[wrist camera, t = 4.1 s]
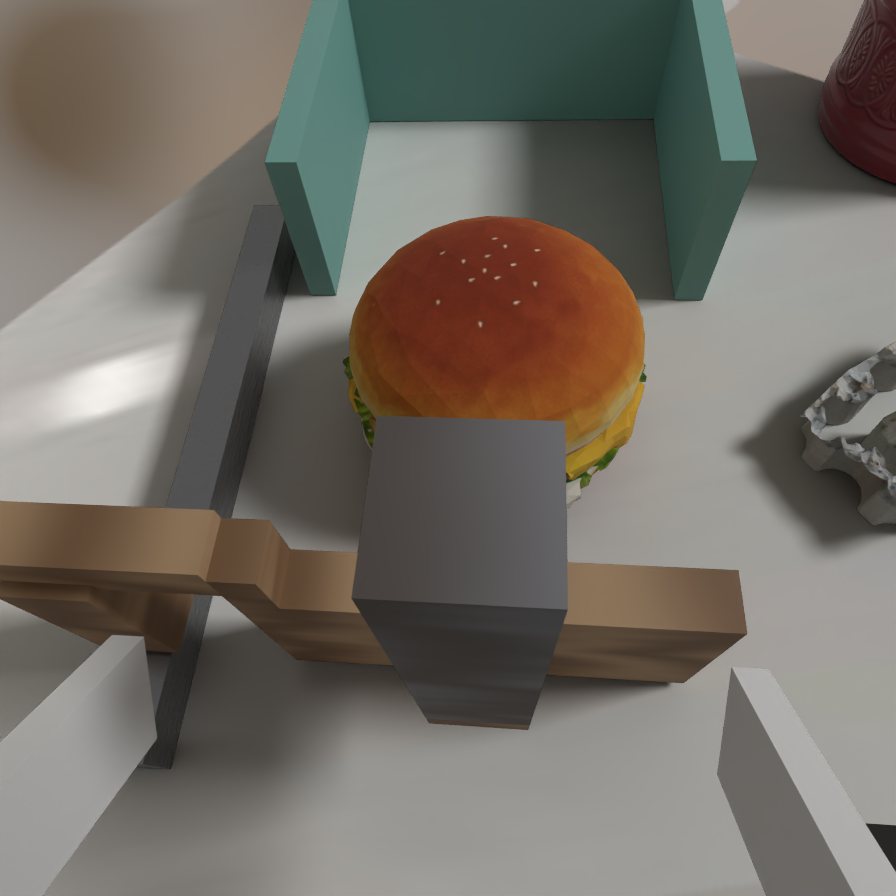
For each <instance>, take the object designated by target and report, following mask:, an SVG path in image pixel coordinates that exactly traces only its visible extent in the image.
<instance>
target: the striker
mask: <svg viewBox="0 0 896 896" xmlns="http://www.w3.org/2000/svg"><path fill="white" fill-rule="evenodd" d="M194 595H213V596H223V597H224V598H225V599H226V600H227V601H229V602H230V603H231V604H232V605H233V606H234V607H236V608H237V609H238V610H239V611H240V612H241V613H243V614H244V615H245V616H246V617H247V618H248V619H250V620H251V621H252V622H253V623H254V624H256V625H257V626H258V627H259V628H260V629H261V630H263V631H264V632H265V633H266V634H267V635H268V636H270V637H271V638H272V639H273V640H274V641H275V642H277V643H278V644H279V645H280V646H281V647H283V648H284V649H285V650H286V651H287V652H288V653H290V654H291V655H292V656H293V657H294V658H295V659H297V660H311V661H328V662H344V663H361V664H377V665H393V666H394V668H395V669H396V671H397V672H398V674H399V676H400V677H401V679H402V680H403V682H404V684H405V685H406V687H407V688H408V690H409V692H410V693H411V695H412V696H413V698H414V700H415V701H416V703H417V704H418V706H419V708H420V709H421V711H422V712H423V714H424V716H425V717H426V719H427V720H428V722H429V723H433V724H448V725H463V726H478V727H493V728H507V729H522V730H528V728H529V725H530V722H531V719H532V716H533V713H534V710H535V707H536V704H537V701H538V698H539V695H540V692H541V689H542V686H543V683H544V680H545V677H546V675H559V676H576V677H592V678H609V679H625V680H642V681H658V682H675V683H684V682H686V681H687V680H688V679H690V678H691V677H692V676H693V675H695V674H696V673H697V672H699V671H700V670H701V669H702V668H704V667H705V666H706V665H708V664H709V663H710V662H712V661H713V660H714V659H715V658H717V657H718V656H719V655H721V654H722V653H723V652H724V651H726V650H727V649H728V648H730V647H731V646H732V645H734V644H735V643H736V642H737V641H739V640H740V639H741V638H743V637H744V636H745V635H746V634H747V628H746V621H745V614H744V607H743V599H742V592H741V585H740V578H739V571H738V570H722V569H700V568H679V567H657V566H635V565H614V564H592V563H571V562H567V506H566V436H565V421H541V420H506V419H471V418H436V417H402V416H377V419H376V426H375V433H374V441H373V448H372V455H371V462H370V469H369V476H368V483H367V490H366V497H365V504H364V511H363V519H362V526H361V533H360V540H359V547H358V553H355V552H333V551H312V550H291V549H290V548H289V547H288V545H287V544H286V543H285V541H284V540H283V538H282V537H281V536H280V534H279V533H278V532H277V530H276V529H275V528H274V526H273V525H272V523H271V522H270V521H269V520H255V519H231V518H221V517H220V516H219V515H218V514H217V513H216V512H215V511H214V510H201V509H177V508H153V507H129V506H105V505H81V504H57V503H33V502H9V501H0V599H1V600H3V601H5V602H7V603H10V604H12V605H14V606H16V607H18V608H20V609H23V610H25V611H27V612H29V613H31V614H33V615H35V616H38V617H40V618H42V619H44V620H46V621H48V622H51V623H53V624H55V625H57V626H59V627H61V628H64V629H66V630H68V631H70V632H72V633H74V634H76V635H79V636H81V637H83V638H85V639H87V640H89V641H92V642H94V643H96V644H98V645H100V646H101V645H102V644H103V643H104V642H105V641H106V640H107V639H108V638H109V637H110V636H112V635H122V636H142V637H144V641H145V649H146V651H156V652H172V653H179V652H180V648H181V644H182V640H183V636H184V632H185V628H186V624H187V620H188V616H189V613H190V609H191V605H192V601H193V597H194Z"/></svg>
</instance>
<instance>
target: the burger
mask: <svg viewBox="0 0 896 896" xmlns="http://www.w3.org/2000/svg"><path fill="white" fill-rule="evenodd" d="M644 352H645V334H644V326H643V318H642V315H641V313H640V310H639V307H638V304H637V302H636V299H635V296H634V293H633V292H632V290H631V289H630V287H629V286H628V284H627V282H626V281H625V279H624V278H623V276H622V275H621V273H620V272H619V270H617V269H616V268H615V267H614V266H613V265H612V264H611V263H610V262H609V261H608V260H607V259H606V258H605V257H604V256H603V255H602V254H601V253H600V252H599V251H598V250H597V249H596V248H594V247H593V246H592V245H591V244H589V243H587V242H585V241H583V240H582V239H580V238H578V237H576V236H574V235H573V234H571V233H569V232H567V231H565V230H562V229H559V228H556V227H553V226H550V225H547V224H545V223H542V222H539V221H535V220H531V219H527V218H514V217H495V216H485V217H478V218H472V219H465V220H459V221H456V222H453V223H450V224H447V225H444V226H441V227H438V228H435V229H432V230H430V231H429V232H427V233H425V234H424V235H422V236H420V237H419V238H417V239H415V240H414V241H412V242H410V243H409V244H407V245H405V246H404V247H402V248H400V249H399V250H397V251H396V253H395V254H394V255H393V256H392V257H391V258H390V259H389V260H388V261H387V262H386V264H385V265H384V266H383V267H382V268H381V269H380V270H379V271H378V272H377V273H376V275H375V276H374V277H373V278H372V279H371V280H370V281H369V282H368V284H367V286H366V288H365V290H364V293H363V295H362V297H361V299H360V301H359V303H358V305H357V307H356V309H355V312H354V315H353V319H352V324H351V329H350V357H347V358H345V359H344V360H343V363H344V364H345V366H346V368H345V371H344V372H345V374H346V375H347V376H348V377H349V378H350V379H349V390H348V394H349V400H350V402H351V403H352V406H353V409H354V411H355V412H357V413H359V415H360V417H361V423H362V427H363V433H364V438H365V442H366V444H367V445H368V447H369V448H370V449H371V451H372V448H373V441H374V433H375V426H376V419H377V416H402V417H436V418H471V419H506V420H541V421H565V436H566V506H567V509H568V508H570V507H571V505H572V504H573V502H574V501H576V500H578V499H580V498H581V490H580V489H581V488H583V487H585V486H587V485H589V482H590V479H591V477H592V475H593V474H594V473H595V472H596V471H597V470H600V471H601V470H603V469H604V468H606V467H607V466H608V465H609V463H610V462H611V461H612V460H613V458H614V457H615V455H616V453H617V452H618V449H619V448H620V447H621V446H623V445H624V444H626V443H627V442H628V440H629V438H630V436H631V434H632V431H633V427H634V422H635V418H636V413H637V409H638V407H639V404H640V401H641V398H642V395H643V390H644V385H643V384H642V383H641V382H645V381H646V376H645V374H644V373H643V371H644V369H645V364H644Z"/></svg>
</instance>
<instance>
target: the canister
mask: <svg viewBox="0 0 896 896" xmlns="http://www.w3.org/2000/svg"><path fill="white" fill-rule="evenodd" d="M819 121H820V125H821V128H822V130H823V132H824V134H825V136H826V138H827V139H828V140H829V142H830V143H831V144H832V146H833V147H834V148H835V149H836V150H837V151H838V152H839V153H840V154H841V155H842V156H844V157H845V158H846V159H847V160H849V161H850V162H851V163H853V164H854V165H856V166H857V167H859V168H861V169H862V170H864V171H866V172H868V173H870V174H872V175H874V176H876V177H879V178H881V179H884V180H886V181H889V182H892V183H895V184H896V0H864V2H863V4H862V6H861V8H860V11H859V13H858V15H857V18H856V20H855V22H854V24H853V26H852V29H851V31H850V33H849V36H848V38H847V40H846V42H845V45H844V47H843V49H842V51H841V53H840V54H839V55H838V57H837V58H836V59H835V61H834V62H833V64H832V66H831V68H830V71H829V74H828V76H827V78H826V80H825V83H824V86H823V91H822V99H821V102H820V106H819Z"/></svg>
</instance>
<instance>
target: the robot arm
mask: <svg viewBox="0 0 896 896" xmlns="http://www.w3.org/2000/svg"><path fill="white" fill-rule="evenodd" d="M156 739H157V733H156V725H155V717H154V710H153V702H152V694H151V687H150V679H149V671H148V664H147V656H146V649H145V641H144V637H142V636H122V635H112V636H110V637H109V638H108V639H107V640H106V641H105V642H104V643H103V644H102V645H101V646H100V647H99V648H98V649H97V650H96V651H95V652H94V653H93V654H92V655H91V656H90V657H89V658H87V659H86V660H85V661H84V662H83V663H82V664H81V665H80V666H79V667H78V668H77V669H76V670H75V671H74V672H73V673H72V674H71V675H70V676H69V677H68V678H67V679H66V680H65V681H63V682H62V683H61V684H60V685H59V686H58V687H57V688H56V689H55V690H54V691H53V692H52V693H51V694H50V695H49V696H48V697H47V698H46V699H45V700H44V701H43V702H42V703H40V704H39V705H38V706H37V707H36V708H35V709H34V710H33V711H32V712H31V713H30V714H29V715H28V716H27V717H26V718H25V719H24V720H23V721H22V722H21V723H20V724H19V725H18V726H16V727H15V728H14V729H13V730H12V731H11V732H10V733H9V734H8V735H7V736H6V737H5V738H4V739H3V740H2V741H1V742H0V896H43V894H44V893H45V892H46V890H47V889H48V887H49V886H50V885H51V883H52V882H53V881H54V879H55V878H56V876H57V875H58V874H59V872H60V871H61V870H62V868H63V867H64V866H65V864H66V863H67V861H68V860H69V859H70V857H71V856H72V855H73V853H74V852H75V850H76V849H77V848H78V846H79V845H80V844H81V842H82V841H83V839H84V838H85V837H86V835H87V834H88V833H89V831H90V830H91V828H92V827H93V826H94V824H95V823H96V822H97V820H98V819H99V817H100V816H101V815H102V813H103V812H104V811H105V809H106V808H107V806H108V805H109V804H110V802H111V801H112V800H113V798H114V797H115V795H116V794H117V793H118V791H119V790H120V789H121V787H122V786H123V784H124V783H125V782H126V780H127V779H128V778H129V776H130V775H131V773H132V772H133V771H134V769H135V768H136V767H137V765H138V764H139V762H140V761H141V760H142V758H143V757H144V756H145V754H146V753H147V752H148V750H149V749H150V747H151V746H152V745H153V743H154V742H155V741H156ZM717 775H718V777H719V780H720V782H721V785H722V787H723V790H724V792H725V795H726V797H727V800H728V802H729V805H730V807H731V810H732V812H733V815H734V817H735V820H736V822H737V825H738V827H739V830H740V832H741V835H742V837H743V840H744V842H745V845H746V847H747V850H748V852H749V855H750V857H751V860H752V862H753V865H754V867H755V870H756V872H757V875H758V877H759V880H760V882H761V885H762V887H763V890H764V892H765V894H766V896H896V826H895V825H881V824H866V823H865V822H864V821H863V819H862V817H861V816H860V814H859V813H858V811H857V809H856V808H855V806H854V805H853V803H852V802H851V800H850V798H849V797H848V795H847V794H846V792H845V790H844V789H843V787H842V786H841V784H840V782H839V781H838V779H837V778H836V776H835V774H834V773H833V771H832V770H831V768H830V766H829V765H828V763H827V762H826V760H825V758H824V757H823V755H822V754H821V752H820V750H819V749H818V747H817V746H816V744H815V742H814V741H813V739H812V738H811V736H810V735H809V733H808V731H807V730H806V728H805V727H804V725H803V723H802V722H801V720H800V719H799V717H798V715H797V714H796V712H795V711H794V709H793V707H792V706H791V704H790V703H789V701H788V699H787V698H786V696H785V695H784V693H783V691H782V690H781V688H780V687H779V685H778V683H777V682H776V680H775V679H774V677H773V675H772V674H771V672H770V671H769V669H758V668H739V667H731V675H730V682H729V690H728V697H727V705H726V712H725V720H724V727H723V735H722V742H721V750H720V757H719V765H718V772H717Z"/></svg>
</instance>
